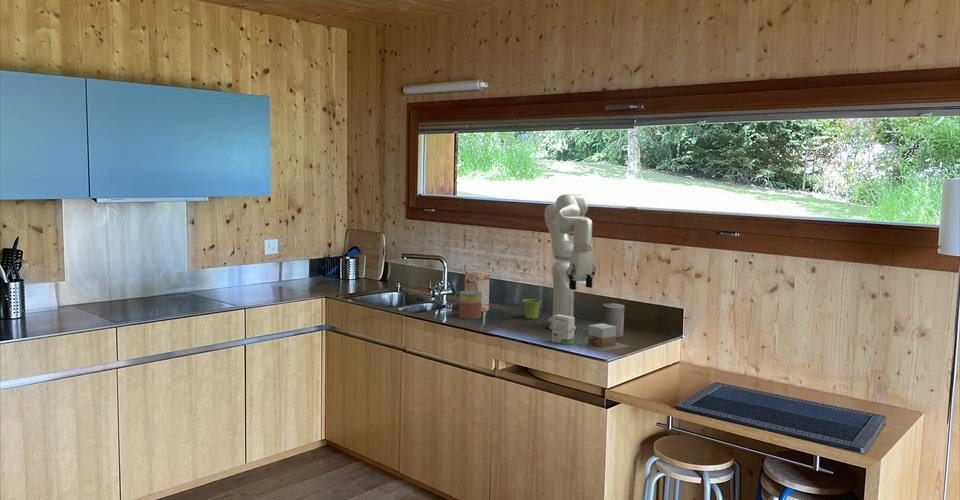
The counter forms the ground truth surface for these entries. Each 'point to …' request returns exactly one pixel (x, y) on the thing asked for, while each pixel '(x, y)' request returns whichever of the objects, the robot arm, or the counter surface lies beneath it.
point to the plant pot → (531, 308)
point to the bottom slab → (601, 341)
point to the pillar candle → (614, 316)
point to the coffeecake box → (478, 286)
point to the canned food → (470, 304)
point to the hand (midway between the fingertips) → (580, 288)
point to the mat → (585, 343)
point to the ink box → (563, 329)
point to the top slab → (602, 330)
